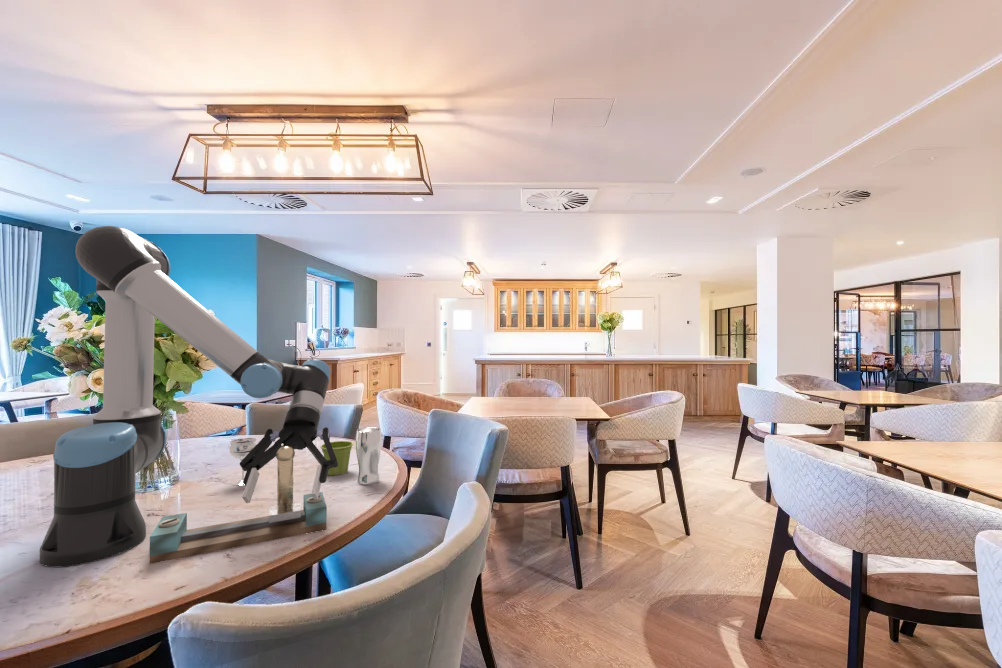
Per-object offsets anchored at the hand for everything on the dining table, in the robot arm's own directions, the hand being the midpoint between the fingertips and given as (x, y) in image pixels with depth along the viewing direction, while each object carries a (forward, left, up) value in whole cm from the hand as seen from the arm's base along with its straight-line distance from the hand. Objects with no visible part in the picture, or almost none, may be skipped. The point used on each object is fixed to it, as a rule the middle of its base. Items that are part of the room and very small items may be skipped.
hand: (280, 498), depth 89 cm
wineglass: (-9, +42, -8) cm, 44 cm away
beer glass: (+23, +26, -8) cm, 36 cm away
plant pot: (+16, +39, -8) cm, 43 cm away
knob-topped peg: (+1, +3, -5) cm, 6 cm away
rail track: (-6, +3, -8) cm, 10 cm away
